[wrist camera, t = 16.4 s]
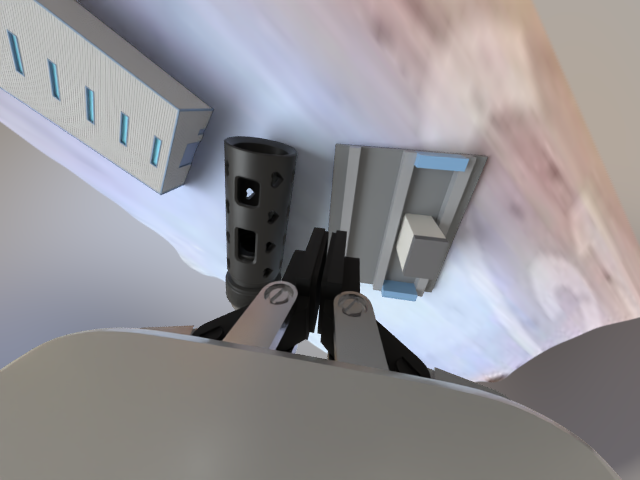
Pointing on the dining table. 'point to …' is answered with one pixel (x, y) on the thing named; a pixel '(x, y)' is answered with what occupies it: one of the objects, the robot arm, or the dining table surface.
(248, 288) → the muzzle brake
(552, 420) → the robot arm
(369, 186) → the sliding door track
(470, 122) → the dining table surface
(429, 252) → the grey rectangular prism
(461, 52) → the dining table surface
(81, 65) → the warehouse
